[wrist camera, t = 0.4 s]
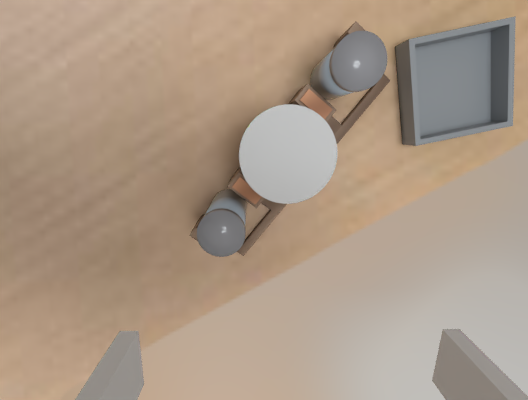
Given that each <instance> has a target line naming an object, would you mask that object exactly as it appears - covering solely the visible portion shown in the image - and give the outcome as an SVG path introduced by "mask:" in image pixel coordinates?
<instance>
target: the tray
mask: <svg viewBox="0 0 528 400" xmlns="http://www.w3.org/2000/svg"><path fill="white" fill-rule="evenodd" d="M395 51H396V65H397V78H398V91H399V104H400V118H401V131H402V144H405V145H413V146H417V145H422V144H427V143H432V142H437V141H442V140H446V139H451V138H456V137H461V136H466V135H470V134H475V133H480V132H485V131H490V130H494V129H499V128H504V127H509V126H513V96H514V54H515V17H511V18H506V19H502V20H497V21H492V22H488V23H483V24H478V25H474V26H469V27H464V28H460V29H455V30H450V31H446V32H441V33H436V34H431V35H427V36H422V37H417V38H413V39H409V40H407V41H405V42H403V43H401V44H400V45H398V46H396V47H395Z"/></svg>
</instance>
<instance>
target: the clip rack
mask: <svg viewBox="0 0 528 400" xmlns="http://www.w3.org/2000/svg"><path fill="white" fill-rule="evenodd" d="M355 31H365V30H364V29H363V28H362V27H361V26H360V25H359V24H358V23H357V22H355V23H354V24H353V25H352V26H351V27H350V28H349V29H348V30H347V31H346V32H345V33H344V34H343V35H342V36H341V37H340V38H339V39H338V41H337V42H336V43H335V45H334V47H336V45H337V44H338V43H339V42H340V41H341V40H342V39H343V38H344V37H345V36H347V35H348V34H350V33H352V32H355ZM389 81H390V80H389V79H388V78H387V77H386V76H385V75H384V74H383V76H382V77H381V79H380V80H379V81H378V82H377V83H376V84H375V85H374V86H372V87H371V89H370V90H369V91H368V92H367V93H366V95H365V96H364V97H363V98H362V99H361V101H360V102H359V103H358V104H357V105H356V107H355V108H354V109H353V110H352V112H351V113H350V114H349V115H348V116H347V118H346V119H345V120H344V121H343V122H342V124H340V123H339V122H338V121H337V120H335V119H334V118H333V117H332V115H333V114H334V112H335V111H336V109H335V108H334V107H333V106H332V105H331V104H330V103H328V102H327V101H326V100H325V99H324V98H323V97H322V96H321V95H319V94H318V93H317V92H316V91H315V90H314V89H313V88H312V87H310V86H309V85H308V84H306V85H305V86H304V87H303V88H301V89H300V90H299V91H298V92H297V94H296V95H295V96H294V98H293V99H292V100H291V101H290V103H289V104H293V105H300V106H304V107H307V108H309V109H311V110H313V111H315V112H316V113H318V114H319V115H320V116H321V117H322V118H323V119H324V120H325V121H326V122H327V123H328V125H329V126H330V128H331V129H332V131H333V134H334V136H335V139H336V144H337V143H338V142H339V141H340V140H341V139H342V138H343V136H344V135H345V134H346V133H347V132H348V130H349V129H350V128H351V127H352V126H353V124H354V123H355V122H356V121H357V120H358V118H359V117H360V116H361V115H362V114H363V112H364V111H365V110H366V109H367V108H368V106H369V105H370V104H371V103H372V102H373V100H374V99H375V98H376V97H377V96H378V94H379V93H380V92H381V91H382V90H383V89H384V87H385V86H386V85H387V84H388V83H389ZM228 187H229V188H230V189H231V190H233V191H234V192H235V193H237V194H238V195H239V196H241V197H242V198H243V199H245V200H246V201H247V202H249V203H250V204H251V205H253V206H254V207H255V208H257V207H258V206H259V204H260V203H262V204H264V205H265V206H266V207H268V208H269V209H270V211H269V212H268V213H267V214H266V216H265V217H264V218H263V219H262V220H261V222H260V223H259V224H258V225H257V226H256V228H255V229H254V230H253V231H252V232H251V234H250V235H249V236H248V237H247V238H246V240H245V241H244V243H243V245H242V246H241V248H240V249H239V250H238V251H237V252H238V253H240V254H241V255H243V256H244V255H245V253H246V252H247V251H248V250H249V249H250V247H251V246H252V245H253V244H254V243H255V241H256V240H257V239H258V238H259V237H260V236H261V234H262V233H263V232H264V231H265V230H266V228H267V227H268V226H269V225H270V224H271V222H272V221H273V220H274V219H275V218H276V216H277V215H278V214H279V213H280V212H281V210H282V209H283V208H284V207H285V206H286V204H283V203H276V202H273V201H270V200H267V199H265V198H263V197H262V196H260V195H259V194H257V193H256V192H255V191H254V190H253V189H252V188H251V187H250V186H249V184H248V183H247V181H246V180H245V178H244V176H243V173H242V171H241V167H239V169H238V170H237V171H236V172H235V174H234V175H233V176H232V178H231V179H230V182H229V184H228ZM203 217H204V214H203V215H202V216H201V218H200V219H199V220H198V222H197V223H196V225H195V227H194V229H193V230H192V232H191V234H190V235H189V236H191V237H192V238H194V239H195V240H197V241H198V239H197V228H198V225H199V223H200V221H201V219H202V218H203Z"/></svg>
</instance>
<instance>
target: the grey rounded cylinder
mask: <svg viewBox="0 0 528 400" xmlns="http://www.w3.org/2000/svg"><path fill="white" fill-rule="evenodd" d="M386 65H387V52H386V48H385V46H384V43H383V42H382V40H381V39H380V38H379V37H378V36H377V35H375V34H374V33H371V32H368V31H355V32H352V33H350V34H348V35H347V36H345V37H344V38H343V39H342V40H341V41H340V42H339V43H338V44H337V45H336V47H335V48H334V49H333V50H332V51H331V52H330V53H329V54H328V55H327V56H326V57H325V58H324V59H323V60H322V61H320V62H319V63H318V64H317V65H316V66H315V68H314V69H313V71H312V74H311V78H310V83H311V87H312V88H313V89H314V90H315V91H316V92H317V93H318V94H319V95H321V96H322V97H323V98H324V99H326V100H330V99H334V98H337V97H341V96H344V95H347V94H350V93H353V92H359V91H363V90H366V89H368V88H371V87H372V86H374V85H375V84H376V83H377V82H378V81H379V80H380V79H381V77H382V76H383V74H384V72H385V69H386Z"/></svg>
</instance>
